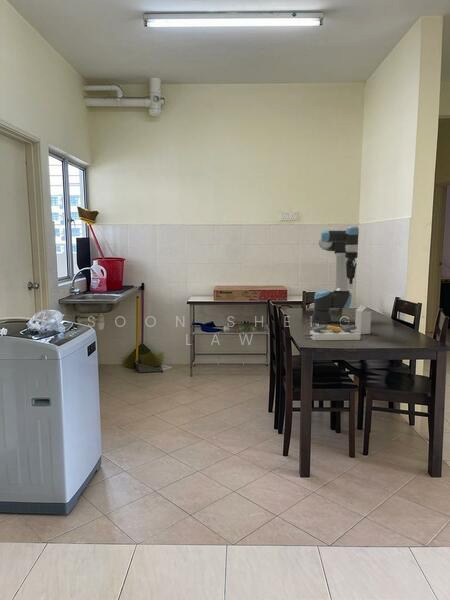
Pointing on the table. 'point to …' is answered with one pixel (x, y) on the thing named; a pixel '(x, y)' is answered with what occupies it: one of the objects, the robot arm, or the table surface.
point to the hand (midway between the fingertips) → (349, 288)
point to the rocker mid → (334, 328)
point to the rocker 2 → (349, 328)
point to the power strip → (334, 335)
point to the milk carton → (363, 320)
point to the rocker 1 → (319, 328)
